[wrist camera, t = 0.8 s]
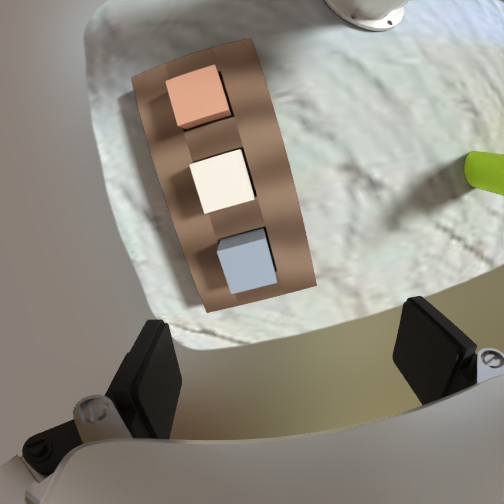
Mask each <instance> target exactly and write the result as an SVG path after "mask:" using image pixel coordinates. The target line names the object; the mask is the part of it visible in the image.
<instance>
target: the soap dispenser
mask: <svg viewBox="0 0 504 504" xmlns="http://www.w3.org/2000/svg"><path fill="white" fill-rule="evenodd" d="M464 173H465V177H466V180H467V182H468V183H469V184H470V185H471V186H472V187H475V188H479V189H482V190H486V191H489V192H493V193H496V194H500V195H503V196H504V155H502V154H495V153H487V152H478V151H472V152H470V153H469V154H468V155H467V157H466V159H465V163H464Z"/></svg>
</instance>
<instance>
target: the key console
mask: <svg viewBox="0 0 504 504" xmlns="http://www.w3.org/2000/svg"><path fill="white" fill-rule="evenodd" d="M212 65H215V66H216V69H217V71H218V74H219V77H220V80H221V83H222V87H223V90H224V93H225V97H226V100H227V103H228V107H229V110H230V113H231V116H228V117H224V118H221V119H218V120H214V121H211V122H208V123H205V124H202V125H198V126H195V127H192V128H189V129H184V128H181V127H179V126H178V125H177V122H176V118H175V115H174V111H173V107H172V104H171V100H170V97H169V93H168V89H167V85H166V82H165V81H167V80H170V79H172V78H175V77H178V76H181V75H184V74H187V73H189V72H192V71H195V70H199V69H202V68H205V67H208V66H212ZM131 80H132V84H133V89H134V93H135V97H136V101H137V105H138V109H139V112H140V116H141V120H142V124H143V127H144V131H145V135H146V138H147V142H148V145H149V149H150V152H151V155H152V159H153V162H154V165H155V169H156V172H157V175H158V179H159V182H160V185H161V188H162V191H163V194H164V197H165V200H166V203H167V206H168V209H169V212H170V215H171V218H172V221H173V224H174V227H175V230H176V233H177V236H178V238H179V241H180V244H181V247H182V250H183V252H184V255H185V258H186V261H187V263H188V266H189V269H190V271H191V274H192V276H193V279H194V282H195V284H196V287H197V289H198V292H199V294H200V297H201V300H202V302H203V304H204V307H205V309H206V312H207V313H209V312H213V311H218V310H222V309H226V308H231V307H235V306H239V305H243V304H248V303H252V302H256V301H260V300H264V299H268V298H272V297H276V296H280V295H284V294H287V293H291V292H295V291H299V290H303V289H306V288H310V287H314V286H317V284H316V279H315V274H314V269H313V264H312V259H311V254H310V250H309V245H308V240H307V236H306V231H305V227H304V222H303V218H302V214H301V210H300V205H299V201H298V197H297V193H296V189H295V185H294V181H293V177H292V173H291V169H290V165H289V161H288V158H287V154H286V150H285V146H284V143H283V139H282V136H281V132H280V128H279V125H278V121H277V118H276V115H275V111H274V108H273V104H272V101H271V98H270V95H269V91H268V88H267V85H266V82H265V79H264V75H263V72H262V69H261V66H260V63H259V60H258V57H257V54H256V51H255V48H254V45H253V42H252V40H251V38H248V39H244V40H240V41H235V42H231V43H227V44H224V45H220V46H216V47H213V48H209V49H206V50H203V51H199V52H196V53H193V54H190V55H187V56H184V57H181V58H178V59H176V60H173V61H170V62H168V63H165V64H162V65H160V66H157V67H155V68H152V69H150V70H148V71H145V72H143V73H141V74H138V75H136V76H134V77H132V78H131ZM239 149H240V150H241V151H242V154H243V158H244V161H245V165H246V168H247V172H248V175H249V179H250V183H251V186H252V190H253V193H254V200H252V201H248V202H244V203H241V204H237V205H233V206H230V207H226V208H223V209H219V210H216V211H213V212H209V213H206V214H204V211H203V208H202V204H201V201H200V198H199V195H198V192H197V189H196V185H195V182H194V179H193V176H192V172H191V169H190V166H189V165H190V164H193V163H196V162H199V161H203V160H206V159H209V158H212V157H215V156H219V155H222V154H225V153H229V152H232V151H236V150H239ZM262 228H263V229H264V233H265V236H266V240H267V244H268V248H269V251H270V255H271V259H272V262H273V266H274V270H275V275H276V280H277V283H274V284H270V285H266V286H262V287H258V288H254V289H250V290H246V291H242V292H238V293H234V294H231V292H230V289H229V286H228V283H227V280H226V277H225V274H224V271H223V268H222V265H221V262H220V260H219V257H218V254H217V249H218V246H219V243H220V240H221V239H225V238H228V237H232V236H236V235H240V234H243V233H247V232H251V231H254V230H258V229H262Z"/></svg>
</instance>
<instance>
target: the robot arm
mask: <svg viewBox="0 0 504 504" xmlns="http://www.w3.org/2000/svg"><path fill="white" fill-rule="evenodd" d="M409 1H411V0H325V2H326V3H327V4H328V5H329V7H330V8H331V9H332V10H333V11H334V12H335V13H336V14H338V15H339V16H341V17H342V18H343V19H345V20H347V21H348V22H350V23H352V24H354V25H356V26H358V27H361V28H364V29H368V30H373V31H385V30H390V29H392V28H394V27H395V26H397V25H398V24H399V23H400V22H401V21H402V19H403V17H404V5H405V4H407V3H408V2H409ZM476 348H477V345H476V344H475V343H474V342H473V341H472V340H471V339H470V338H469V337H468V336H466V335H465V334H464V333H463V332H462V331H461V330H460V329H459V328H458V327H457V326H455V325H454V324H453V323H452V322H451V321H450V320H449V319H447V318H446V317H445V316H444V315H443V314H442V313H441V312H439V311H438V310H437V309H436V308H435V307H433V306H432V305H431V304H430V303H429V302H427V301H426V300H425V299H424V298H423V297H421V296H417V297H411V298H408V299H407V301H406V302H405V303H404V304H403V309H402V314H401V320H400V325H399V329H398V334H397V339H396V343H395V347H394V351H393V361H394V363H395V365H396V366H397V367H398V369H399V370H400V372H401V373H402V374H403V376H404V378H405V379H406V381H407V382H408V384H409V385H410V387H411V388H412V390H413V391H414V393H415V394H416V395H417V397H418V399H419V400H420V402H421V403H422V406H420V407H417V408H414V409H411V410H407V411H404V412H401V413H398V414H394V415H391V416H388V417H384V418H380V419H377V420H373V421H369V422H366V423H361V424H356V425H352V426H347V427H342V428H337V429H333V430H327V431H321V432H315V433H308V434H301V435H294V436H285V437H277V438H264V439H250V440H215V441H199V440H171V439H169V438H170V433H171V429H172V424H173V420H174V415H175V411H176V406H177V402H178V398H179V394H180V389H181V386H182V377H181V373H180V369H179V365H178V361H177V358H176V354H175V350H174V346H173V342H172V337H171V333H170V329H169V325H168V324H167V323H164V322H163V320H147V321H146V323H145V325H144V327H143V329H142V330H141V332H140V334H139V336H138V338H137V339H136V341H135V343H134V345H133V347H132V349H131V351H130V352H129V353H127V354H126V356H125V358H124V360H123V361H122V363H121V365H120V367H119V369H118V371H117V373H116V375H115V376H114V378H113V380H112V382H111V384H110V386H109V388H108V390H107V392H106V394H105V396H103V395H91V396H87V397H85V398H83V399H81V400H80V401H79V402H78V403H77V404H76V405H75V407H74V410H73V418H74V419H73V420H71V421H68V422H66V423H64V424H61V425H59V426H56V427H54V428H51V429H49V430H46V431H44V432H41V433H39V434H36V435H34V436H32V437H30V438H29V439H28V440H27V441H26V442H25V444H24V446H23V450H22V452H23V455H22V456H21V457H19V456H18V455H15V456H14V457H13V458H11V459H10V460H8V461H7V462H6V463H4V464H3V465H1V466H0V504H504V354H503V353H502V352H500V351H499V350H496V349H493V348H484V349H482V350H480V351H479V353H478V354H476V353H475V350H476Z"/></svg>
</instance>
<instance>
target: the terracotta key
mask: <svg viewBox="0 0 504 504" xmlns="http://www.w3.org/2000/svg"><path fill="white" fill-rule="evenodd" d="M165 82H166V85H167V89H168V93H169V97H170V100H171V104H172V107H173V111H174V115H175V118H176V122H177V125H178V126H179V127H181V128H184V129H189V128H192V127H195V126H198V125H202V124H205V123H208V122H211V121H214V120H218V119H221V118H224V117H228V116H231V113H230V110H229V107H228V103H227V100H226V97H225V93H224V90H223V87H222V83H221V80H220V77H219V74H218V71H217V69H216V66H215V65H212V66H208V67H205V68H202V69H199V70H195V71H192V72H189V73H187V74H184V75H181V76H178V77H175V78H172V79H170V80H167V81H165Z"/></svg>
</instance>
